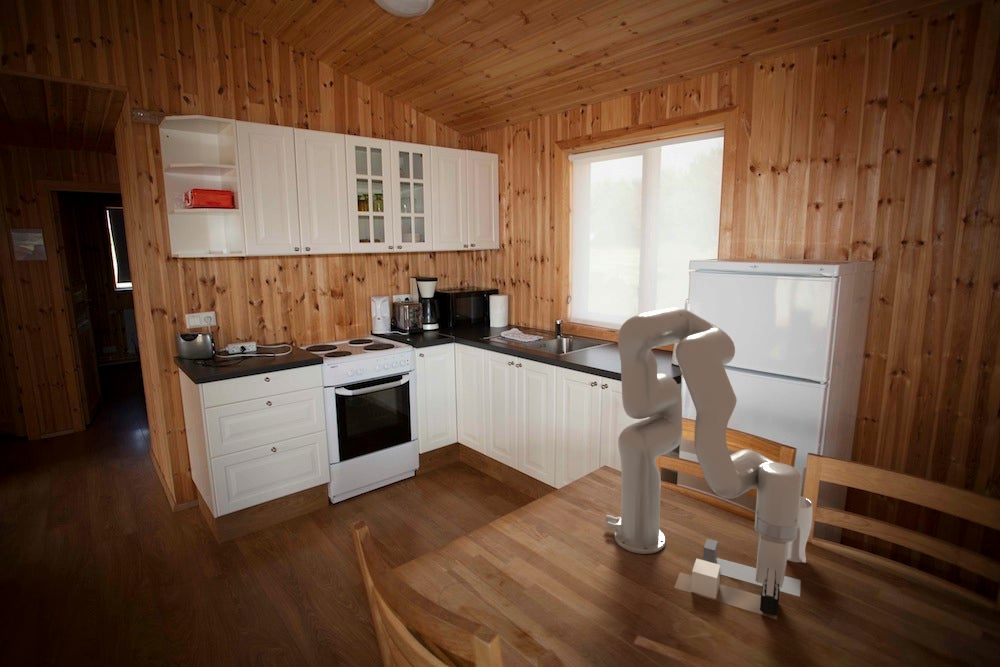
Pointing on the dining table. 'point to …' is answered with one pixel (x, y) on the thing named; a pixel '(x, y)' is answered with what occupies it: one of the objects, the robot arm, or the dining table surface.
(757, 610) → the brown long piece
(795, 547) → the beer glass
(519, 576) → the dining table surface
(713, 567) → the cream block
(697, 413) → the robot arm
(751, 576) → the grey strip
